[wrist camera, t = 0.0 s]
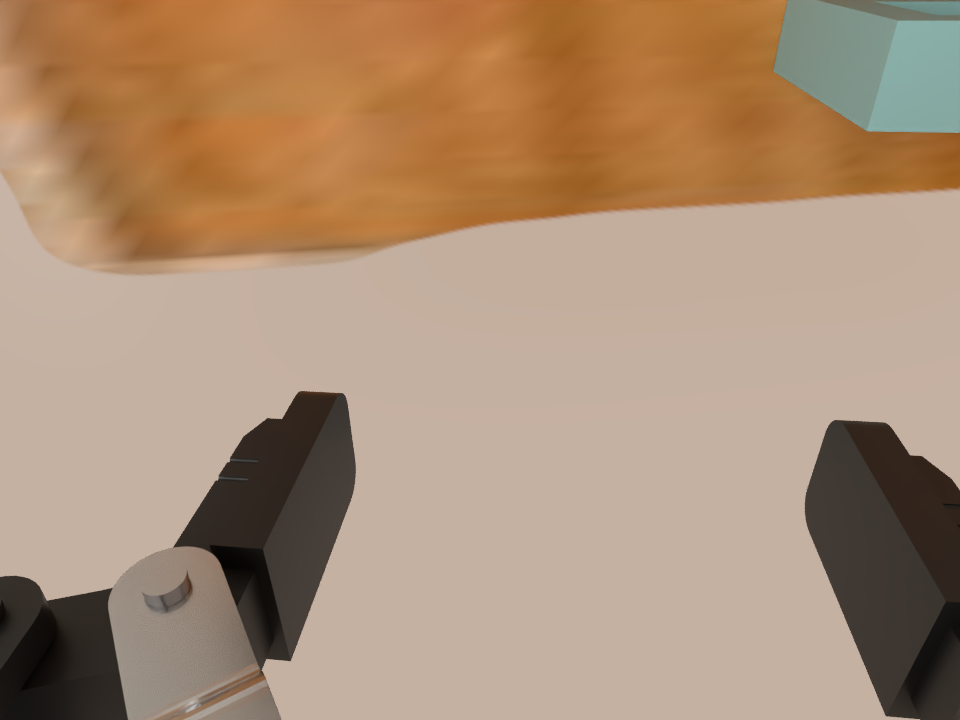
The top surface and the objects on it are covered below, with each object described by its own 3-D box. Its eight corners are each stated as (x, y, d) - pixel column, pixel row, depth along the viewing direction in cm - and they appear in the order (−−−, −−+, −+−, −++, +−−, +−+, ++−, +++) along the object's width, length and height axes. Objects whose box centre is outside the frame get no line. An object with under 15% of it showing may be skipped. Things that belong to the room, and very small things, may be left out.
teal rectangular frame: (788, -7, 33) (898, 20, 22) (987, -8, 32) (1199, 21, 21) (773, 71, 35) (866, 131, 24) (961, 73, 34) (1144, 135, 23)
